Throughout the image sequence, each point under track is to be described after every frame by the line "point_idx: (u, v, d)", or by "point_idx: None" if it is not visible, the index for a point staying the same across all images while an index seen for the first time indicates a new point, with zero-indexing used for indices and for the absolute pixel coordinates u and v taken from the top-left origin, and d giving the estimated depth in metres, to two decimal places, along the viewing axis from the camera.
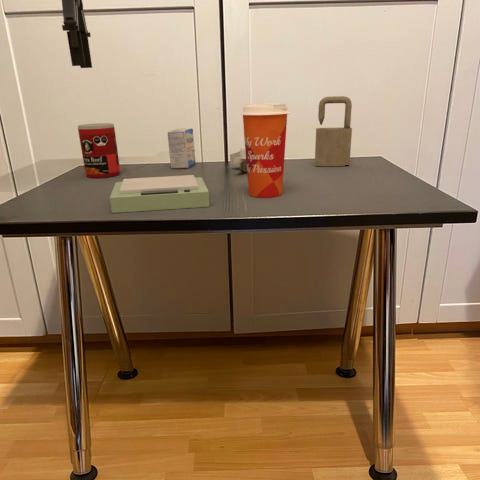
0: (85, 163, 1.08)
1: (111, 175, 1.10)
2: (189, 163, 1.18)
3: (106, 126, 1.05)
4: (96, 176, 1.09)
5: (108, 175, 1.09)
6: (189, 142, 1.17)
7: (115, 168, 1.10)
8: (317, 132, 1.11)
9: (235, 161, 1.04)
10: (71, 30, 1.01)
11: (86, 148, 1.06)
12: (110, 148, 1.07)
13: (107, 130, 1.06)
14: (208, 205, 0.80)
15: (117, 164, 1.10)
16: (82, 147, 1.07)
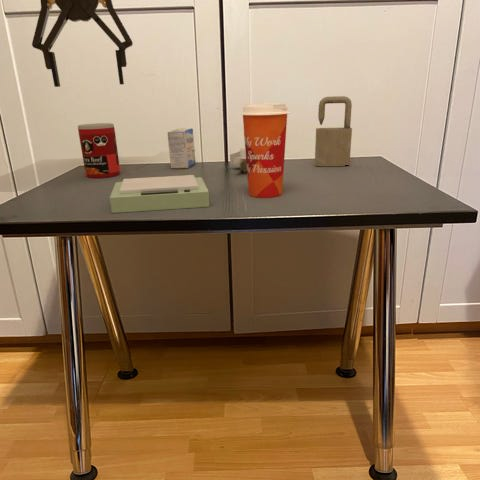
0: (85, 163, 1.08)
1: (111, 175, 1.10)
2: (189, 163, 1.18)
3: (106, 126, 1.05)
4: (96, 176, 1.09)
5: (108, 175, 1.09)
6: (189, 142, 1.17)
7: (115, 168, 1.10)
8: (317, 132, 1.11)
9: (235, 161, 1.04)
10: None
11: (86, 148, 1.06)
12: (110, 148, 1.07)
13: (107, 130, 1.06)
14: (208, 205, 0.80)
15: (117, 164, 1.10)
16: (82, 147, 1.07)
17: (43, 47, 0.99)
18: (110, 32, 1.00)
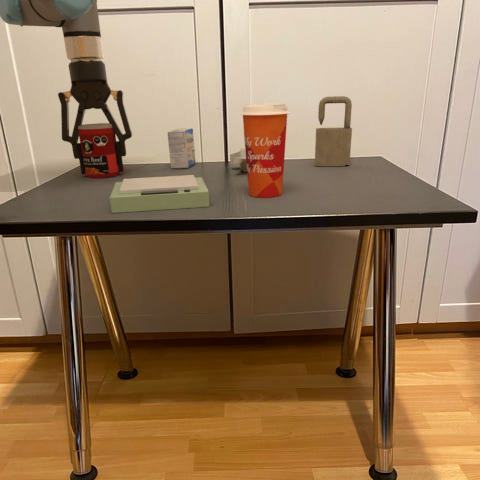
0: (85, 163, 1.08)
1: (111, 175, 1.10)
2: (189, 163, 1.18)
3: (106, 126, 1.05)
4: (96, 176, 1.09)
5: (108, 175, 1.09)
6: (189, 142, 1.17)
7: (115, 168, 1.10)
8: (317, 132, 1.11)
9: (235, 161, 1.04)
10: None
11: (86, 148, 1.06)
12: (110, 148, 1.07)
13: (107, 130, 1.06)
14: (208, 205, 0.80)
15: (117, 164, 1.10)
16: (82, 147, 1.07)
17: (72, 140, 1.07)
18: (114, 124, 1.07)
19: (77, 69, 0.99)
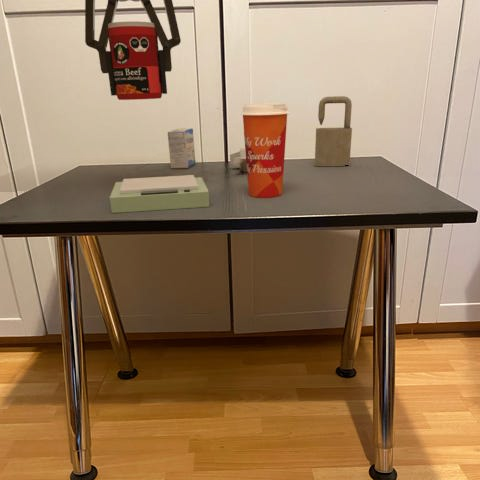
0: (117, 79, 0.79)
1: (152, 96, 0.80)
2: (189, 163, 1.18)
3: (147, 24, 0.76)
4: (132, 97, 0.79)
5: (147, 96, 0.80)
6: (189, 142, 1.17)
7: (158, 88, 0.80)
8: (317, 132, 1.11)
9: (235, 161, 1.04)
10: None
11: (119, 55, 0.77)
12: (152, 57, 0.78)
13: (149, 29, 0.76)
14: (208, 205, 0.80)
15: (159, 82, 0.81)
16: (113, 55, 0.77)
17: (99, 46, 0.77)
18: (158, 24, 0.77)
19: None
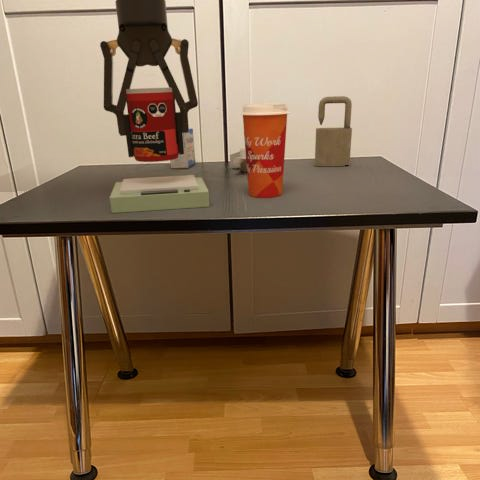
0: (134, 141, 0.79)
1: (169, 158, 0.81)
2: (189, 163, 1.18)
3: (165, 89, 0.76)
4: (149, 160, 0.80)
5: (165, 158, 0.80)
6: (189, 142, 1.17)
7: (175, 149, 0.81)
8: (317, 132, 1.11)
9: (235, 161, 1.04)
10: None
11: (137, 120, 0.77)
12: (169, 121, 0.78)
13: (166, 95, 0.77)
14: (208, 205, 0.80)
15: (177, 143, 0.81)
16: (131, 119, 0.78)
17: (117, 110, 0.78)
18: (175, 88, 0.78)
19: (129, 5, 0.70)
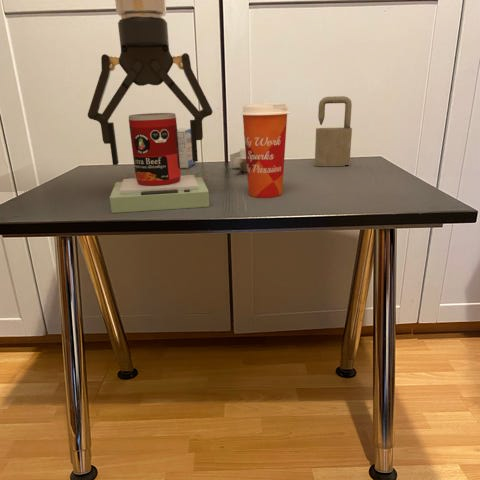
0: (137, 166, 0.81)
1: (171, 182, 0.82)
2: (189, 163, 1.18)
3: (168, 116, 0.78)
4: (152, 184, 0.81)
5: (167, 182, 0.82)
6: (189, 142, 1.17)
7: (176, 173, 0.83)
8: (317, 132, 1.11)
9: (235, 161, 1.04)
10: (202, 119, 0.81)
11: (140, 146, 0.79)
12: (172, 146, 0.80)
13: (169, 121, 0.78)
14: (208, 205, 0.80)
15: (178, 167, 0.83)
16: (134, 145, 0.80)
17: (101, 118, 0.78)
18: (186, 99, 0.79)
19: (132, 27, 0.71)
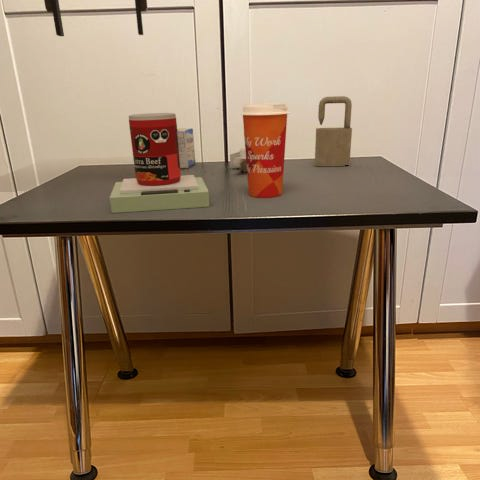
0: (137, 166, 0.81)
1: (171, 182, 0.82)
2: (189, 163, 1.18)
3: (168, 116, 0.78)
4: (152, 184, 0.81)
5: (167, 182, 0.82)
6: (189, 142, 1.17)
7: (176, 173, 0.83)
8: (317, 132, 1.11)
9: (235, 161, 1.04)
10: None
11: (140, 146, 0.79)
12: (172, 146, 0.80)
13: (169, 121, 0.78)
14: (208, 205, 0.80)
15: (178, 167, 0.83)
16: (134, 145, 0.80)
17: None
18: None
19: None
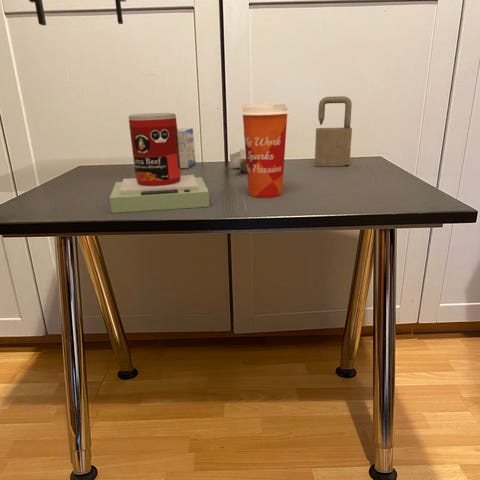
0: (137, 166, 0.81)
1: (171, 182, 0.82)
2: (189, 163, 1.18)
3: (168, 116, 0.78)
4: (152, 184, 0.81)
5: (167, 182, 0.82)
6: (189, 142, 1.17)
7: (176, 173, 0.83)
8: (317, 132, 1.11)
9: (235, 161, 1.04)
10: None
11: (140, 146, 0.79)
12: (172, 146, 0.80)
13: (169, 121, 0.78)
14: (208, 205, 0.80)
15: (178, 167, 0.83)
16: (134, 145, 0.80)
17: None
18: None
19: None
